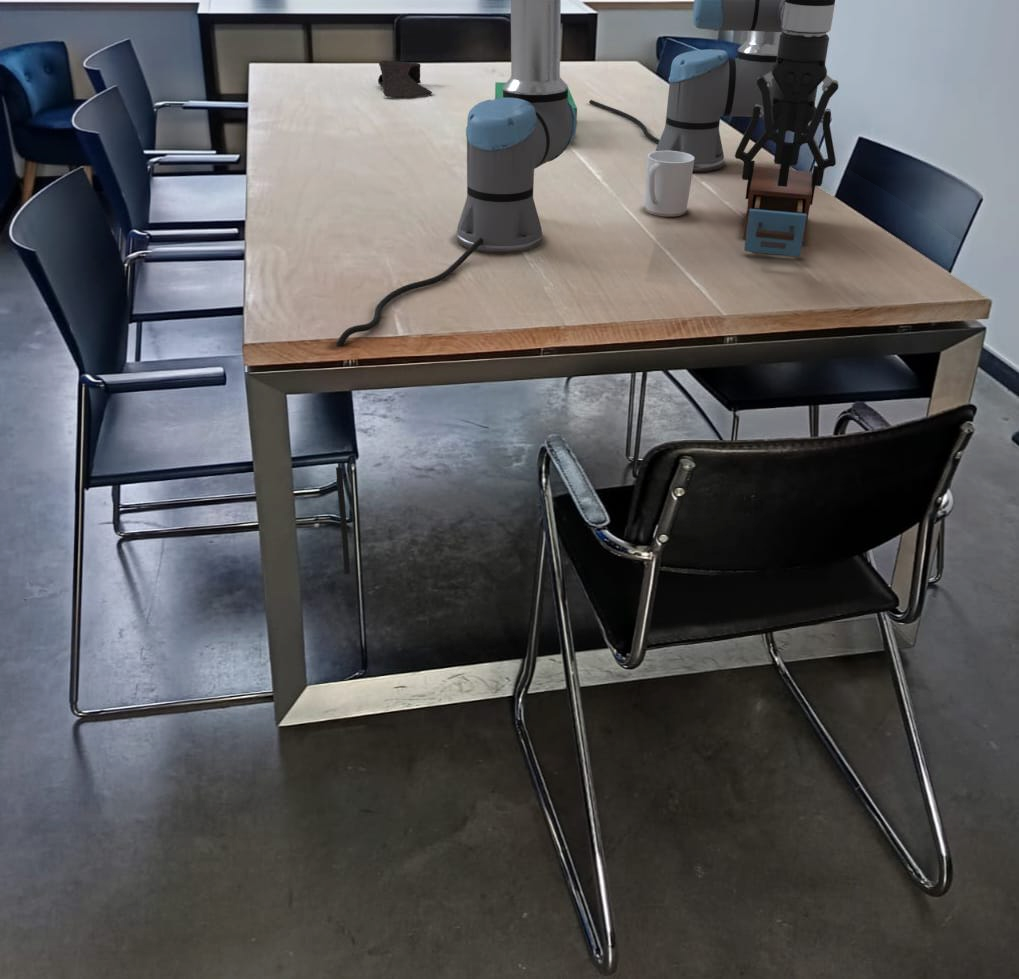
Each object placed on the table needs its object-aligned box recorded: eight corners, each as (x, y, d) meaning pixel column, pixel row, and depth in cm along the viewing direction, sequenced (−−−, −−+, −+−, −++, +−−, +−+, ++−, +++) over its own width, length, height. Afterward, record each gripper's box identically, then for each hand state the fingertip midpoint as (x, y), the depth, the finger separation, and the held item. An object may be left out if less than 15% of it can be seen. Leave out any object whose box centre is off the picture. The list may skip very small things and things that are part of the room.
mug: (658, 200, 218) (663, 148, 212) (697, 210, 213) (703, 156, 208) (627, 213, 210) (631, 159, 205) (667, 223, 206) (672, 168, 200)
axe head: (443, 87, 294) (392, 77, 287) (436, 115, 299) (385, 106, 292) (421, 62, 307) (371, 52, 300) (414, 89, 311) (365, 80, 304)
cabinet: (803, 244, 197) (811, 195, 192) (742, 238, 199) (749, 189, 194) (804, 218, 210) (812, 171, 205) (747, 213, 212) (754, 166, 207)
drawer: (799, 267, 185) (806, 225, 181) (742, 261, 187) (747, 220, 183) (801, 231, 201) (807, 192, 197) (748, 226, 203) (753, 187, 199)
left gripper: (847, 31, 172) (822, 181, 184) (763, 26, 174) (744, 174, 186) (848, 38, 165) (822, 193, 178) (761, 33, 168) (741, 186, 180)
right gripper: (864, 77, 195) (842, 199, 206) (732, 68, 200) (718, 188, 211) (865, 85, 189) (842, 211, 200) (729, 76, 193) (714, 199, 205)
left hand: (782, 183), depth 182 cm, fingers closed
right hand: (778, 199), depth 206 cm, fingers closed on cabinet, 11 cm apart
